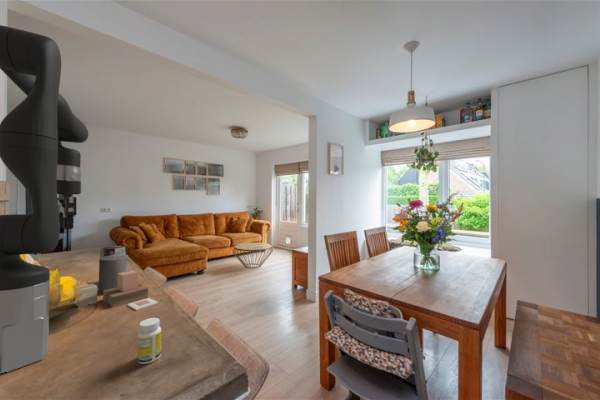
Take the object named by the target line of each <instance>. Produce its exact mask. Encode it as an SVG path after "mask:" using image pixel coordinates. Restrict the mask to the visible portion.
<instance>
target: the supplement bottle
mask: <svg viewBox="0 0 600 400" xmlns="http://www.w3.org/2000/svg"><path fill="white" fill-rule="evenodd" d="M160 322H161V321H160V319H159V318H158V317H151V318H150V317H149V318H146V319H144V320H142V321H140V323H139V328H138V329H139V331H138V333H137V335H136V336H137V337H136V339H137V340H136V341H137V342H136V346H137V347H136V348H137V350H136V351H137V352H136V353H137V354H136V357H137V358H136V361H137V363H139V364H141V365H148V364H152V363H154V362H155V361H157V360H158V359H159V358H160V357H162V327H161V326H160V324H161V323H160Z"/></svg>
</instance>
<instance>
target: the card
mask: <svg viewBox="0 0 600 400" xmlns="http://www.w3.org/2000/svg"><path fill="white" fill-rule="evenodd" d="M158 304H159V302H158V301H157V300H154V299H152V298H150V297H148V298H146V299H142V300H139V301H135V302H132V303H128V304H126V306H127V307H129V308H131V309H132V310H134V311H140V310H142V309H145V308H148V307H151V306H154V305H158Z"/></svg>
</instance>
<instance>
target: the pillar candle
mask: <svg viewBox="0 0 600 400" xmlns="http://www.w3.org/2000/svg"><path fill="white" fill-rule="evenodd" d="M98 263H99V264H98V293H99V294H100V293H102V294H101V295H103V290H107V289H112V288H116V287H118V273H122V272H127V271H129V255H111V256H105V257H101V258H100V257H99V260H98Z"/></svg>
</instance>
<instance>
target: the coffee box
mask: <svg viewBox="0 0 600 400" xmlns="http://www.w3.org/2000/svg"><path fill="white" fill-rule="evenodd" d="M128 247H129V246H127V245H107V246H105V247H99V259H100V258H101V257H105V256H111V255H128V253H129V252H128V251H129V249H128ZM128 256H129V255H128Z"/></svg>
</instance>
